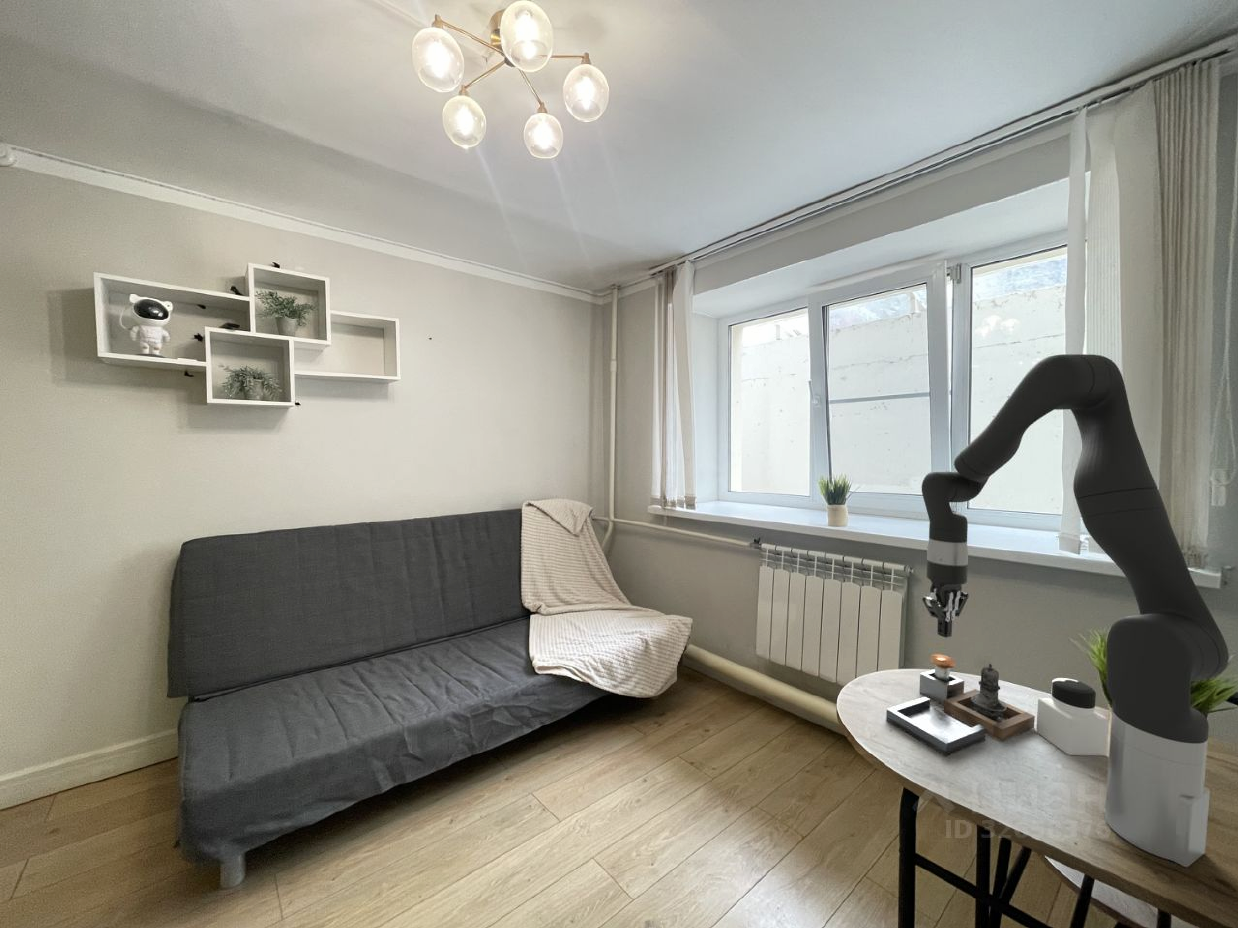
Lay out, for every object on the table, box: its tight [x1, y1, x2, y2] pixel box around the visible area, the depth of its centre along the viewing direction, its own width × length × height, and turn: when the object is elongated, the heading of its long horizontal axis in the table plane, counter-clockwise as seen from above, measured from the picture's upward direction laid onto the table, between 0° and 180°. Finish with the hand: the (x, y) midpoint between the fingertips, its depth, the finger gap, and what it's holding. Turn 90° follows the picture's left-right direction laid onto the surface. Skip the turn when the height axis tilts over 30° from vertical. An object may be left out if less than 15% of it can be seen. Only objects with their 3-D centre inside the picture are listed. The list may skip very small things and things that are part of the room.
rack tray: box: [885, 696, 987, 757], centre depth 95 cm, size 12×12×2 cm
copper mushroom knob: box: [930, 653, 956, 683], centre depth 107 cm, size 4×4×7 cm
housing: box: [918, 668, 965, 706], centre depth 107 cm, size 6×6×4 cm
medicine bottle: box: [1035, 677, 1110, 756], centre depth 91 cm, size 7×7×12 cm
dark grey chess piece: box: [971, 663, 1006, 723], centre depth 98 cm, size 6×6×12 cm
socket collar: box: [943, 688, 1036, 742], centre depth 99 cm, size 11×11×2 cm
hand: (944, 635), depth 106 cm, fingers closed
